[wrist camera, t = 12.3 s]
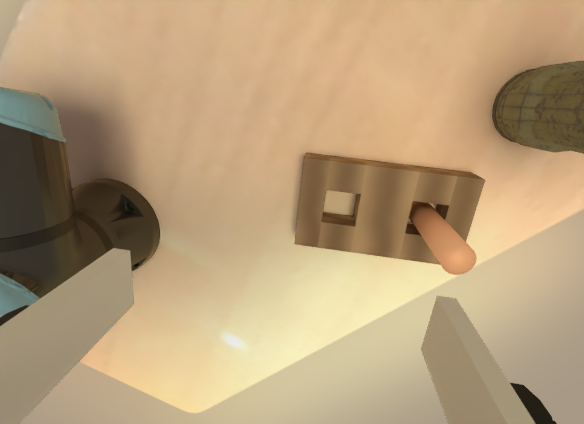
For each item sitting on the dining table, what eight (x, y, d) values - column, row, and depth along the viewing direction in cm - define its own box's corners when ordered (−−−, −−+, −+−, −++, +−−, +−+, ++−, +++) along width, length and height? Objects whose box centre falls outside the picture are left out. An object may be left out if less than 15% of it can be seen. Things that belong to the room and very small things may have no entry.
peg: (404, 218, 46) (437, 272, 32) (409, 197, 45) (445, 242, 31) (427, 221, 46) (470, 276, 31) (432, 200, 44) (480, 247, 30)
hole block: (297, 232, 48) (294, 244, 45) (306, 152, 44) (304, 157, 40) (447, 253, 47) (457, 267, 43) (471, 172, 43) (485, 179, 39)
